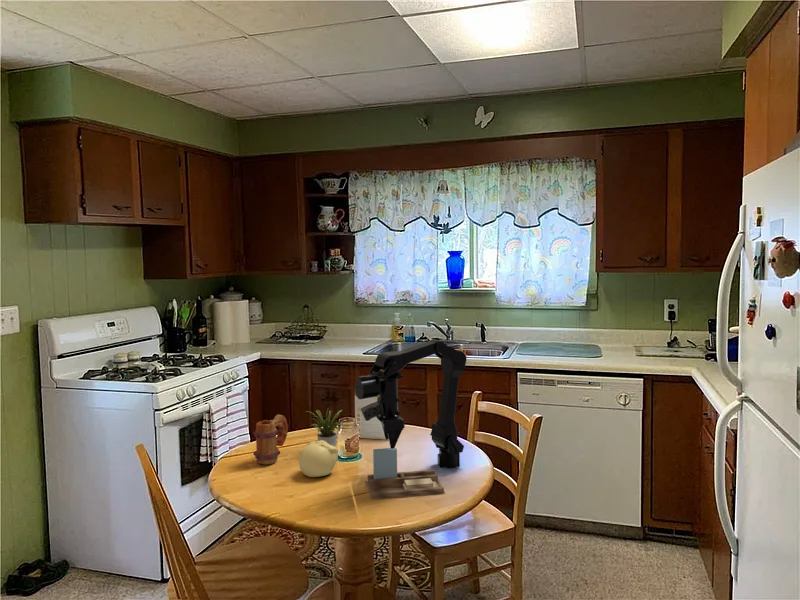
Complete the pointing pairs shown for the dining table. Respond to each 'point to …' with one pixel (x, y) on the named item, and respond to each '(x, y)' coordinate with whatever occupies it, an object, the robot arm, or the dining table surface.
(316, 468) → the sculpture
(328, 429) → the house plant
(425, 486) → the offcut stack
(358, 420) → the coffeecake box
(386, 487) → the rack
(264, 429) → the mug
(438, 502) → the dining table surface
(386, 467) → the light blue block
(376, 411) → the robot arm
